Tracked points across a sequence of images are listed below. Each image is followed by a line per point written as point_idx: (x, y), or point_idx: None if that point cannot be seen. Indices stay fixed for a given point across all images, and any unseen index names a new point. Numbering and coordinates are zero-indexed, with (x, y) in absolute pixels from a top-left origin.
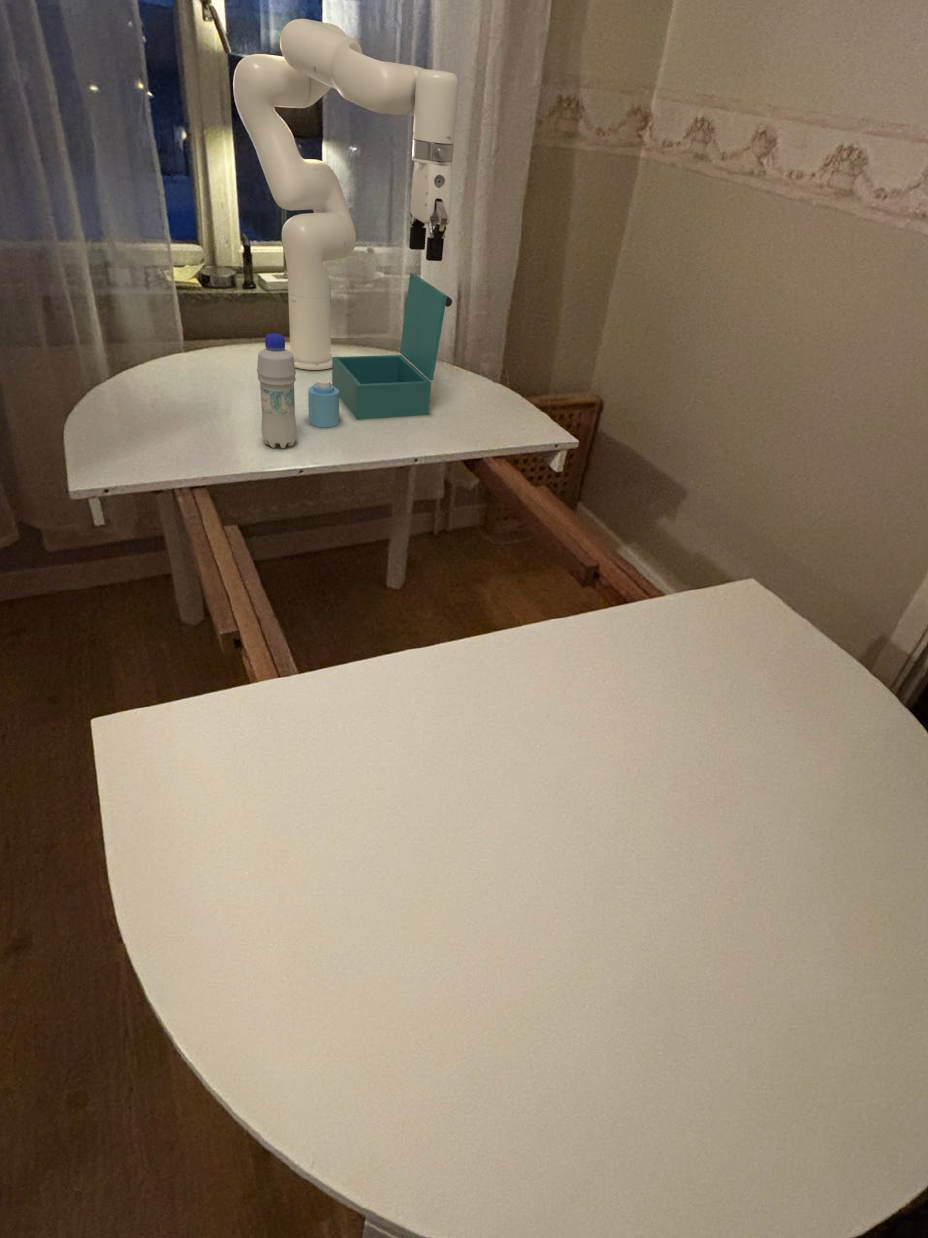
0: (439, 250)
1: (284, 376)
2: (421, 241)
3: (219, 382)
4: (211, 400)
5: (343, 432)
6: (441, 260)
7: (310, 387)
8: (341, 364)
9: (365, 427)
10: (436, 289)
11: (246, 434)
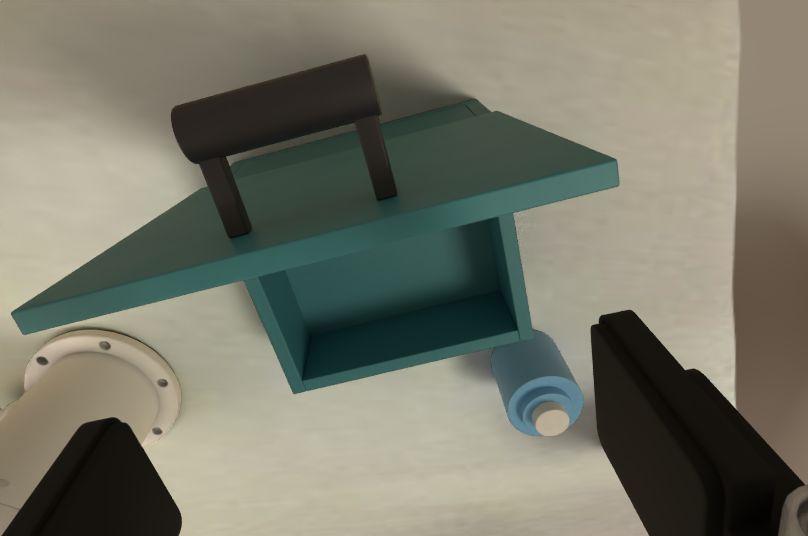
0: (724, 407)
1: None
2: (113, 506)
3: (314, 532)
4: (416, 533)
5: (586, 321)
6: (627, 310)
7: (527, 432)
8: (357, 373)
9: (561, 275)
10: (460, 211)
11: (581, 474)
